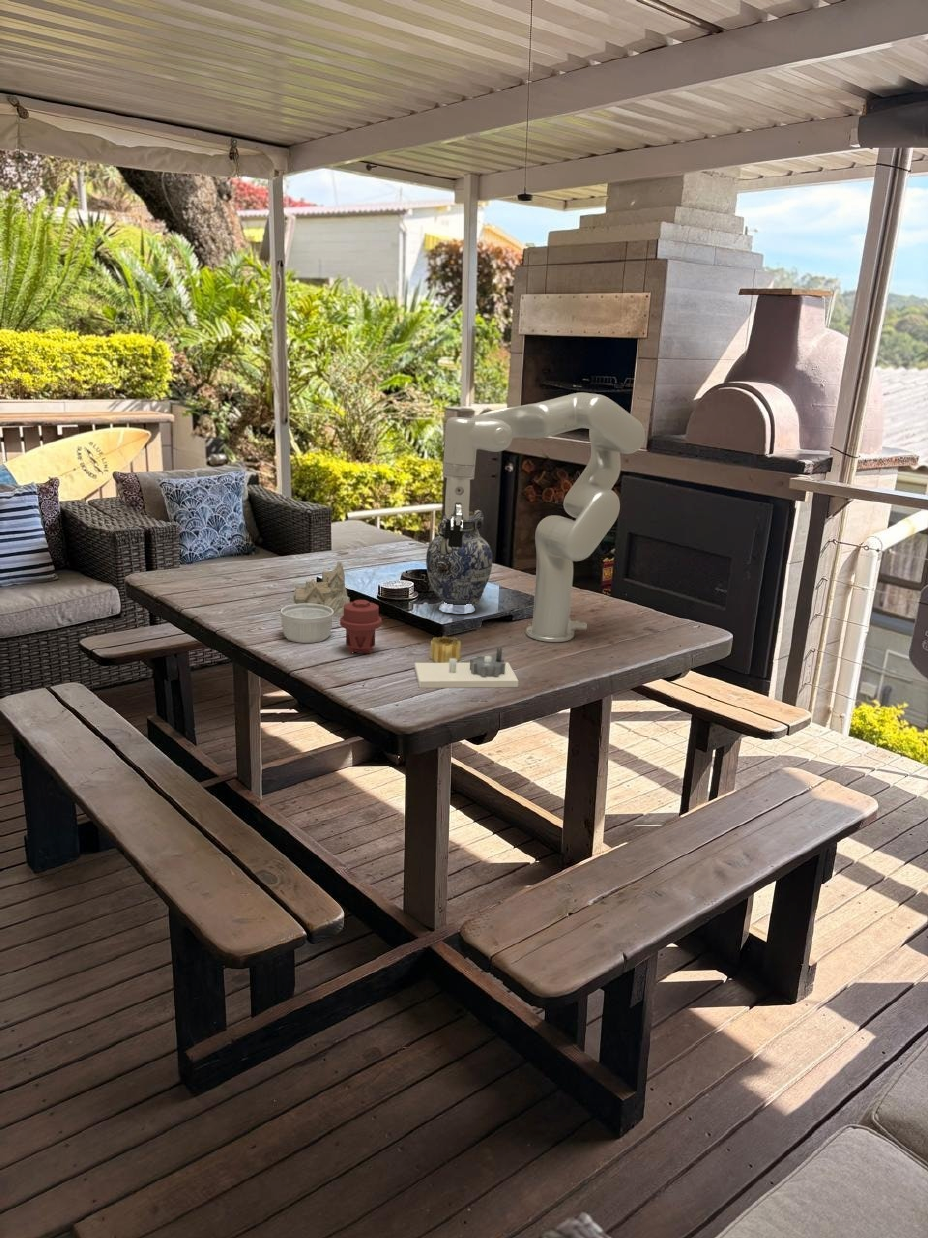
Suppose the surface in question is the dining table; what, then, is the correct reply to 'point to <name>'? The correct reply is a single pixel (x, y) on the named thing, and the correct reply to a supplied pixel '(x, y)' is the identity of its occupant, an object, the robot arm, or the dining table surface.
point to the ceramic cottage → (325, 591)
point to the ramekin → (306, 622)
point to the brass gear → (445, 649)
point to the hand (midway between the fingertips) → (452, 542)
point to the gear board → (467, 673)
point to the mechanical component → (360, 625)
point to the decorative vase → (460, 563)
